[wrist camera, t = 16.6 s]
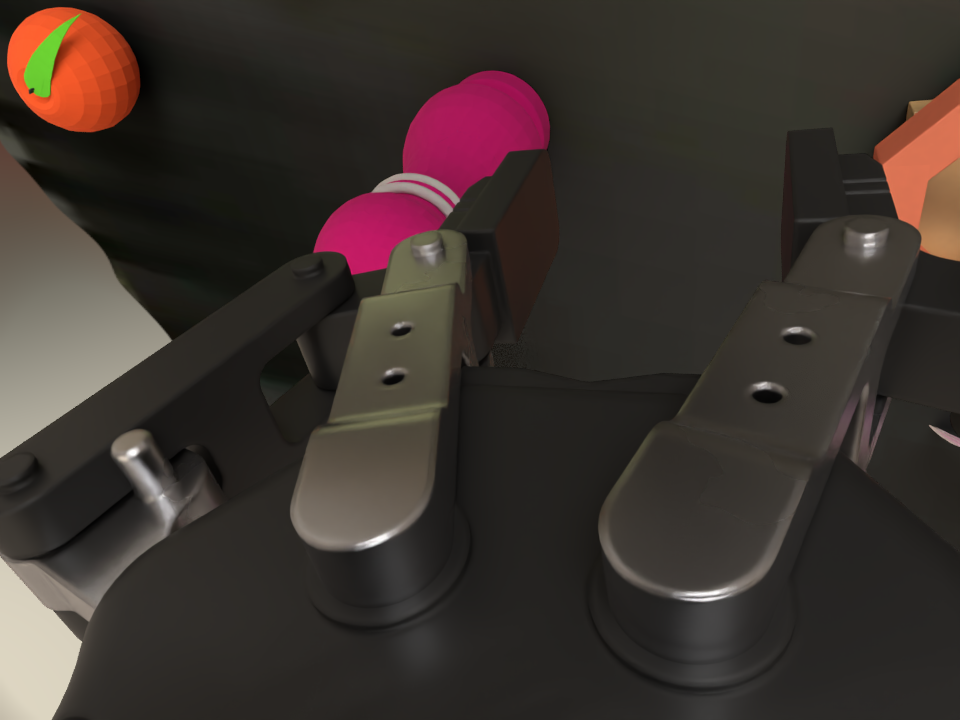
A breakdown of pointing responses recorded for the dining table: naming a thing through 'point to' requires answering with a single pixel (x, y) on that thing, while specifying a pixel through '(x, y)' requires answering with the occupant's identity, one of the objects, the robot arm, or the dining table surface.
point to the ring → (921, 152)
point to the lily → (947, 436)
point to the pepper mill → (439, 165)
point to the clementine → (73, 69)
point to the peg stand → (940, 206)
